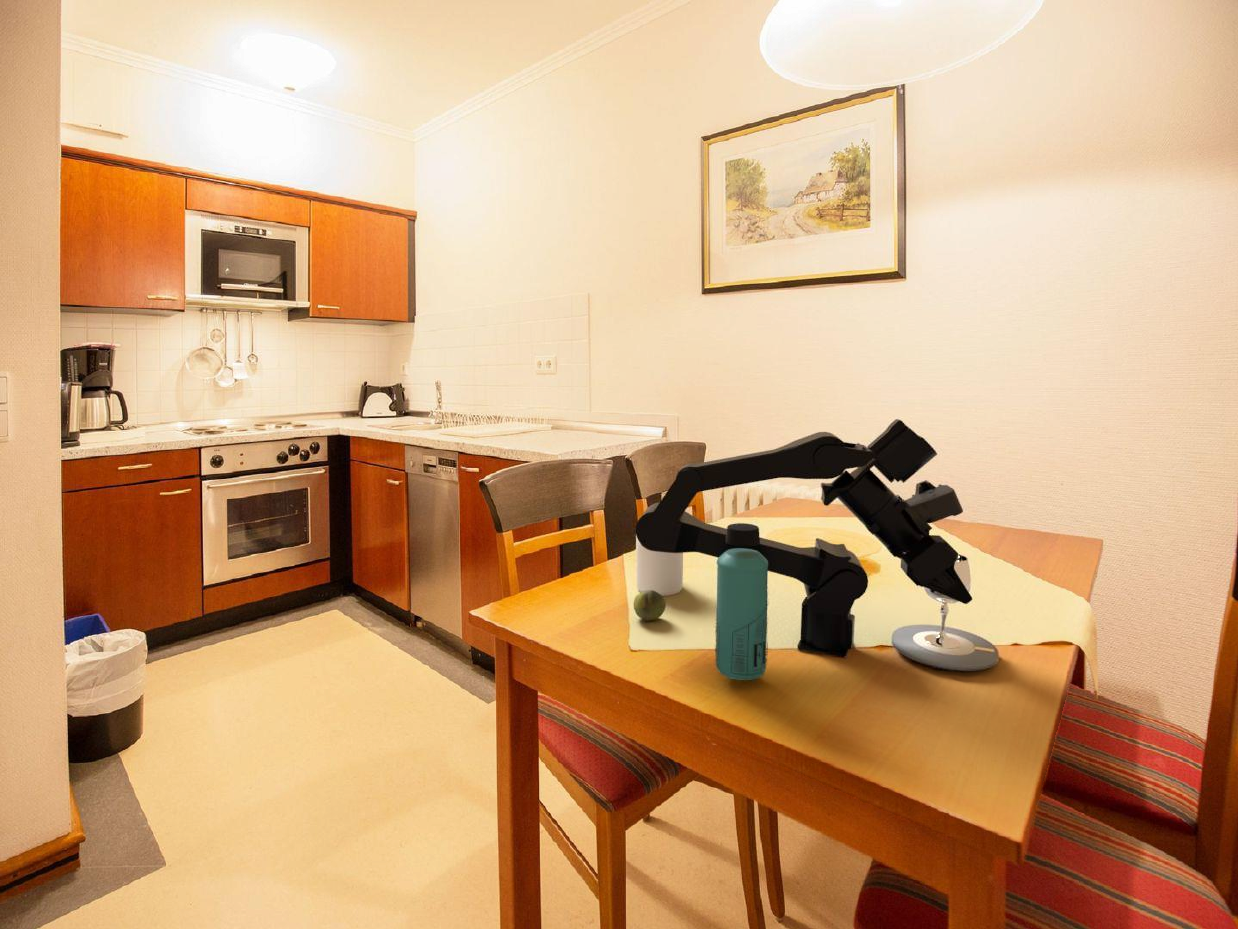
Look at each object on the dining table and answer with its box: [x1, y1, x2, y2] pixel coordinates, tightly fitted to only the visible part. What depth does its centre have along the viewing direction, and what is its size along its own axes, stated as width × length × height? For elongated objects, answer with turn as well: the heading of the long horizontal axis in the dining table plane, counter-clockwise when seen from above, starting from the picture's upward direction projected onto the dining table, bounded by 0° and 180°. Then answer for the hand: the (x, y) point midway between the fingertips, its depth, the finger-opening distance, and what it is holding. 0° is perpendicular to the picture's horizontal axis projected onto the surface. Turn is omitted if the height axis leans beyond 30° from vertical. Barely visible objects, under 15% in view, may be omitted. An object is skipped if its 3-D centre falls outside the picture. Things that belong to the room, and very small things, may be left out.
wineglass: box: [923, 553, 972, 648], centre depth 88 cm, size 6×6×12 cm
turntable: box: [891, 624, 999, 672], centre depth 89 cm, size 13×13×1 cm
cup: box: [635, 535, 684, 597], centre depth 117 cm, size 8×12×10 cm
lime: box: [633, 590, 667, 622], centre depth 101 cm, size 4×5×5 cm
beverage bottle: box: [714, 522, 770, 681], centre depth 81 cm, size 6×7×20 cm
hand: (958, 589), depth 87 cm, fingers open, 9 cm apart
